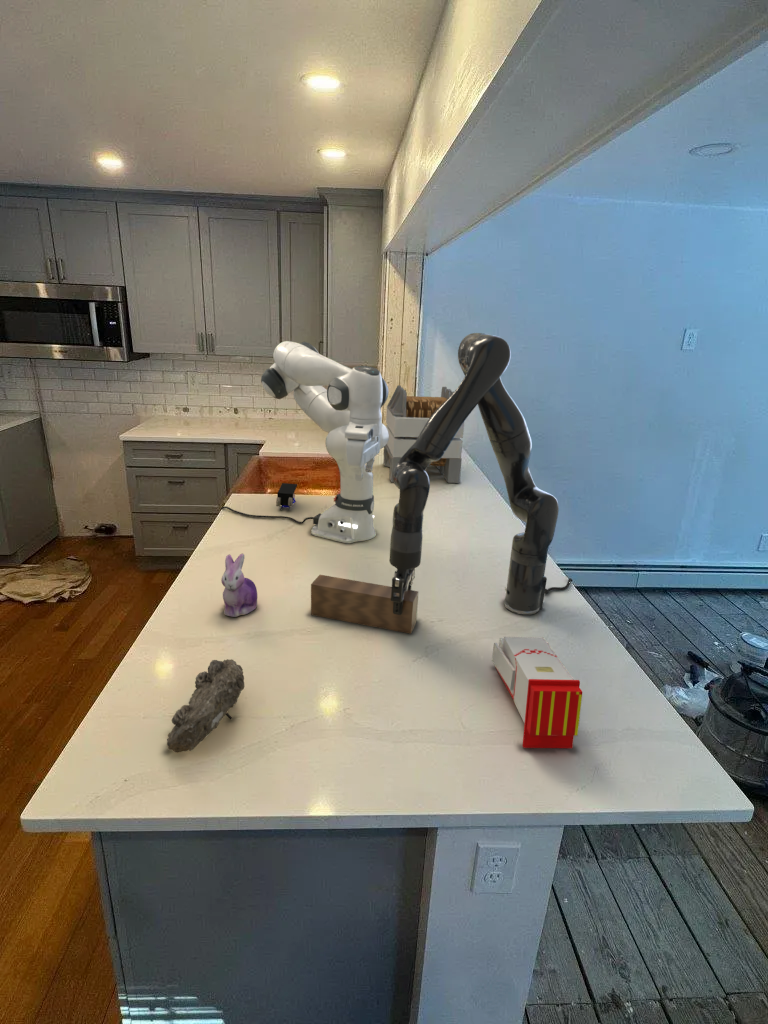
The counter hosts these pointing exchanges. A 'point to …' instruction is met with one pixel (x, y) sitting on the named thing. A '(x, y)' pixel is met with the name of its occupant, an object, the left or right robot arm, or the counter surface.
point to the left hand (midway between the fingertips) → (364, 475)
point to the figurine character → (286, 495)
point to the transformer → (418, 431)
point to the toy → (539, 691)
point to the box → (362, 603)
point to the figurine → (237, 589)
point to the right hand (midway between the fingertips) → (401, 605)
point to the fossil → (206, 705)
